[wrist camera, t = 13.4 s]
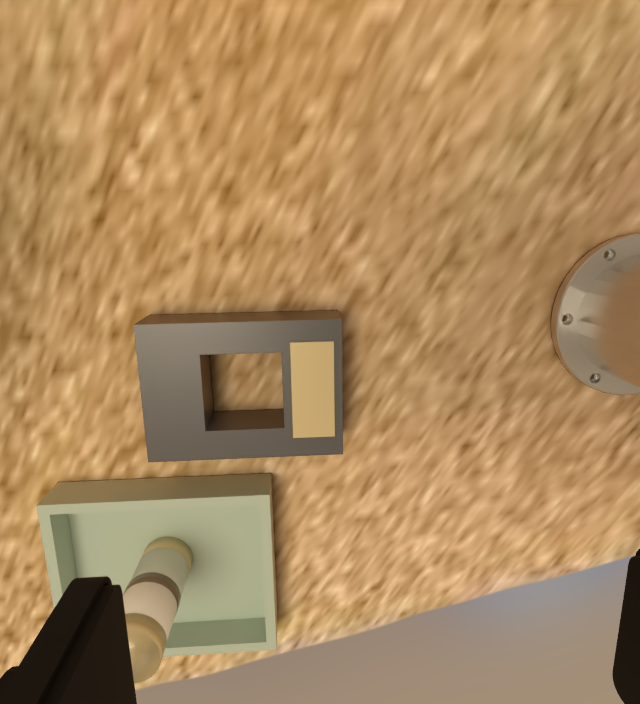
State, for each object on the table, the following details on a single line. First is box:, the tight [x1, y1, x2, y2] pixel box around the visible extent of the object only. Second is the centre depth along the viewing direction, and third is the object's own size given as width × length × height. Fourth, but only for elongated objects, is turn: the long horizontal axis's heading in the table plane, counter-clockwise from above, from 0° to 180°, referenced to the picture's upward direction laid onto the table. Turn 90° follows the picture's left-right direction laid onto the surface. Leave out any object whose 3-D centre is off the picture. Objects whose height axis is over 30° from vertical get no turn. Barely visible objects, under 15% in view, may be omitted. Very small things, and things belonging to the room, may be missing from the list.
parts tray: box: [37, 473, 278, 657], centre depth 41 cm, size 17×14×4 cm
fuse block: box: [134, 310, 343, 462], centre depth 37 cm, size 14×10×4 cm
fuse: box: [123, 537, 193, 683], centre depth 37 cm, size 4×4×10 cm
